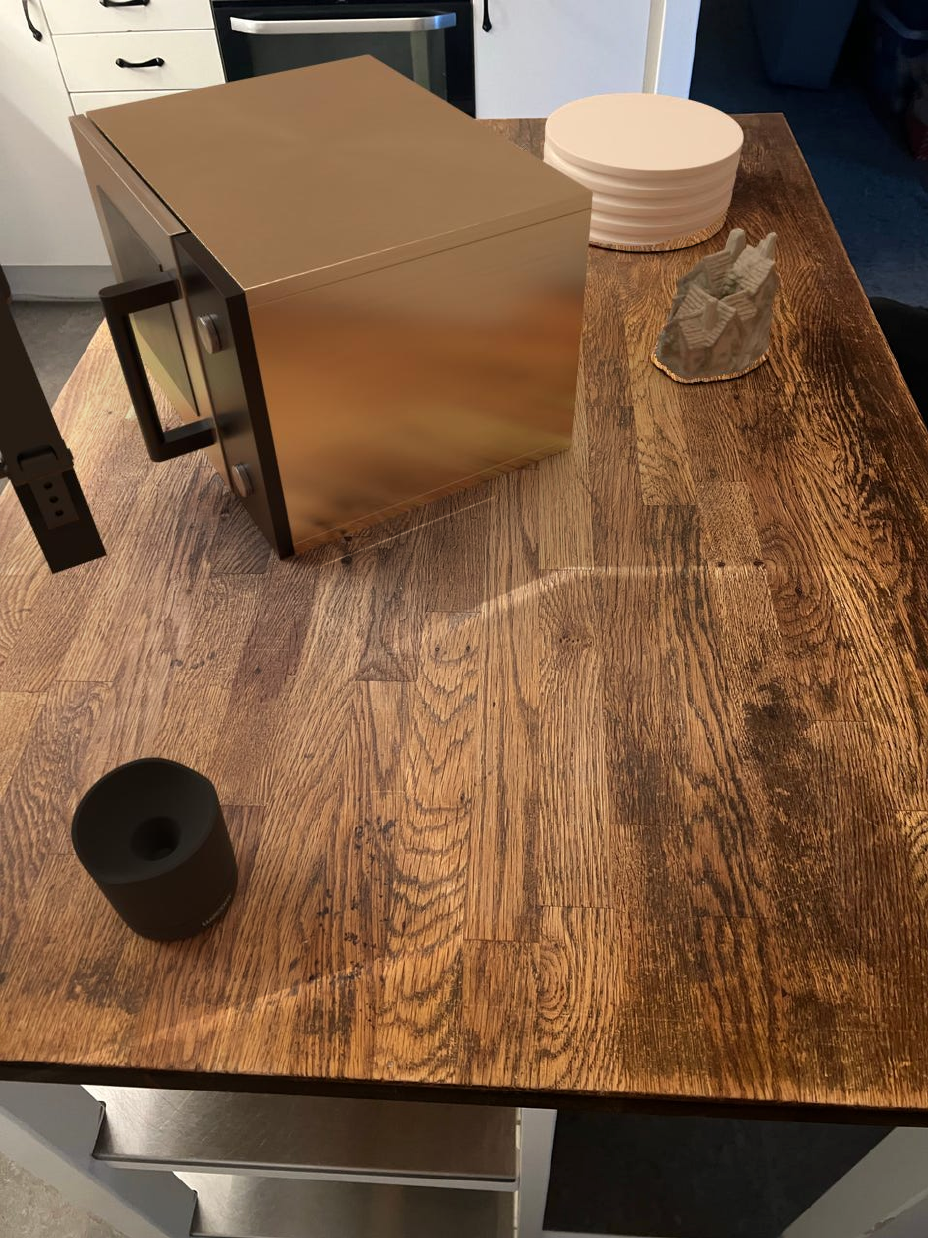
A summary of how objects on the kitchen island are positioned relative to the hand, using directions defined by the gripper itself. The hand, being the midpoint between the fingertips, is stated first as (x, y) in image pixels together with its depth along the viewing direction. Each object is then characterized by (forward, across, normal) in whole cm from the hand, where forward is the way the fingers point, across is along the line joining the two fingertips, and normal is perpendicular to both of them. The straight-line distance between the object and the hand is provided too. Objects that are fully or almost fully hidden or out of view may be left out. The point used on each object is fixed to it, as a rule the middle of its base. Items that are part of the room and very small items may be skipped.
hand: (45, 485), depth 52 cm
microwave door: (+32, +50, -14) cm, 61 cm away
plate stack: (+32, +66, -93) cm, 119 cm away
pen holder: (+32, -7, +2) cm, 33 cm away
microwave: (+32, +44, -34) cm, 64 cm away
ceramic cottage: (+32, +31, -78) cm, 90 cm away
